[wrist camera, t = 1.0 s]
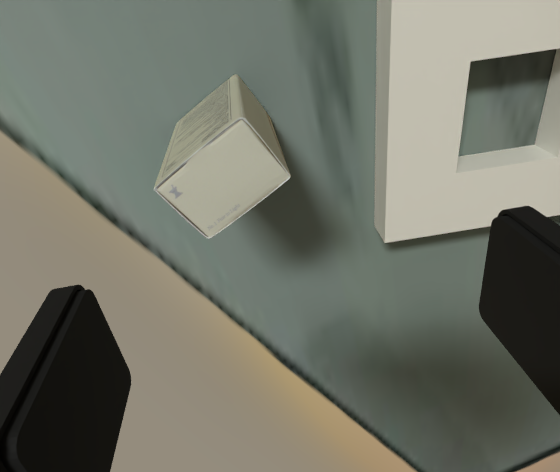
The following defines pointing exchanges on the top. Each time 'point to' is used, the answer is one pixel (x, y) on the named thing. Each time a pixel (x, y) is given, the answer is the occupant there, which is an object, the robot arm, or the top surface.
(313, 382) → the top surface
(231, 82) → the skincare box
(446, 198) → the box stand
